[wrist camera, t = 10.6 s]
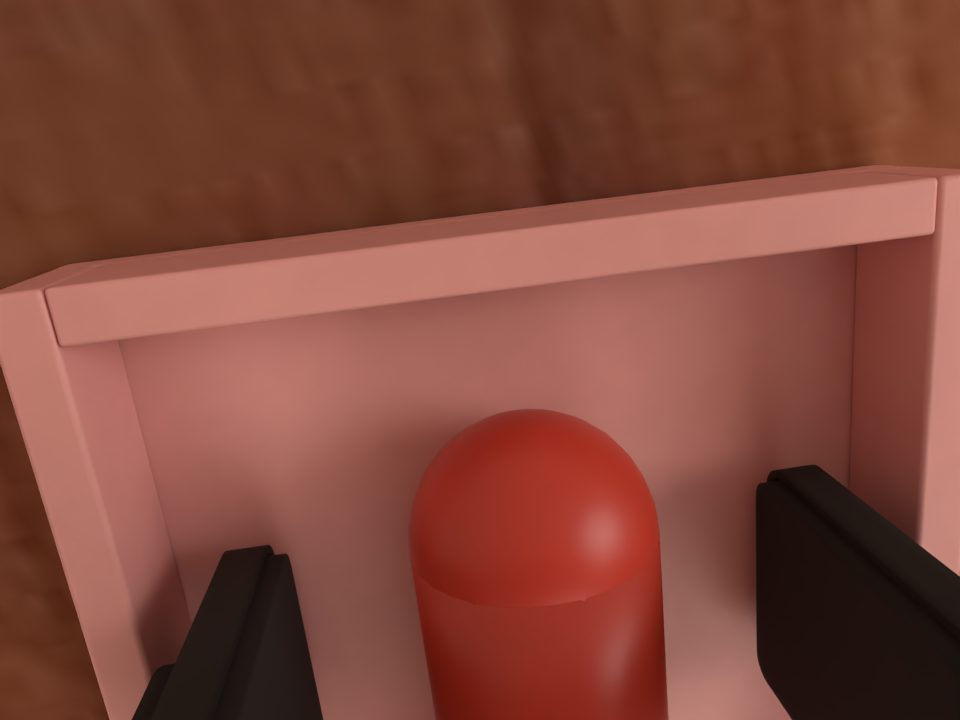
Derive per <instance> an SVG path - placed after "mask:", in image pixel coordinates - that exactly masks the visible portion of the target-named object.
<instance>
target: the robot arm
mask: <svg viewBox="0 0 960 720" xmlns="http://www.w3.org/2000/svg"><path fill="white" fill-rule="evenodd" d="M756 633H757V658H758V663H759V666H760V669H761V672H762V674H763V677H764V678H765V680H766V682H767V683H768V685H769V686H770V688H771V689H772V691H773V692H774V694H775V695H776V697H777V698H778V700H779V701H780V703H781V704H782V706H783V707H784V709H785V710H786V712H787V713H788V715H789V716H790V718H791V719H792V720H960V576H958V575H957V574H956V573H955V572H953V571H952V570H951V569H950V568H948V567H947V566H946V565H944V564H943V563H942V562H941V561H939V560H938V559H937V558H935V557H934V556H933V555H932V554H930V553H929V552H928V551H926V550H925V549H924V548H923V547H921V546H920V545H919V544H918V543H916V542H915V541H914V540H912V539H911V538H910V537H909V536H907V535H906V534H905V533H903V532H902V531H901V530H900V529H898V528H897V527H896V526H894V525H893V524H892V523H891V522H889V521H888V520H887V519H886V518H884V517H883V516H882V515H880V514H879V513H878V512H877V511H875V510H874V509H873V508H871V507H870V506H869V505H868V504H866V503H865V502H864V501H862V500H861V499H860V498H859V497H857V496H856V495H855V494H854V493H852V492H851V491H850V490H848V489H847V488H846V487H845V486H843V485H842V484H841V483H839V482H838V481H837V480H836V479H834V478H833V477H832V476H830V475H829V474H828V473H827V472H825V471H824V470H823V469H822V468H820V467H819V466H817V465H815V464H813V465H806V466H799V467H792V468H785V469H779V470H772V471H771V472H770V473H769V475H768V478H767V482H764V483H760V484H759V485H758V486H757V489H756ZM132 720H323V716H322V711H321V706H320V701H319V696H318V692H317V687H316V682H315V677H314V672H313V668H312V663H311V658H310V653H309V648H308V644H307V639H306V634H305V629H304V624H303V619H302V615H301V610H300V605H299V600H298V595H297V591H296V586H295V581H294V576H293V571H292V567H291V562H290V559H289V556H288V555H287V554H286V553H285V554H278V555H275V554H274V551H273V549H272V547H271V546H270V545H263V546H256V547H249V548H242V549H235V550H229V551H225V552H224V553H223V555H222V557H221V559H220V561H219V563H218V566H217V568H216V570H215V573H214V575H213V577H212V580H211V582H210V584H209V586H208V589H207V591H206V593H205V596H204V598H203V600H202V603H201V605H200V607H199V609H198V612H197V614H196V616H195V619H194V621H193V623H192V626H191V628H190V630H189V632H188V635H187V637H186V639H185V642H184V644H183V646H182V649H181V651H180V653H179V655H178V658H177V660H176V662H175V664H168V665H163V666H161V667H159V668H158V669H157V670H156V671H155V673H154V674H153V676H152V677H151V679H150V681H149V684H148V686H147V688H146V690H145V692H144V694H143V696H142V699H141V701H140V703H139V705H138V707H137V709H136V711H135V714H134V716H133V718H132Z"/></svg>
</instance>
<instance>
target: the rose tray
mask: <svg viewBox="0 0 960 720" xmlns="http://www.w3.org/2000/svg"><path fill="white" fill-rule="evenodd" d="M0 364H1V367H2V371H3V374H4V377H5V380H6V384H7V387H8V390H9V393H10V397H11V400H12V403H13V407H14V410H15V413H16V416H17V420H18V423H19V426H20V429H21V433H22V436H23V439H24V442H25V446H26V449H27V452H28V455H29V459H30V462H31V465H32V468H33V472H34V475H35V478H36V481H37V485H38V488H39V491H40V494H41V498H42V501H43V504H44V507H45V511H46V514H47V517H48V520H49V524H50V527H51V530H52V534H53V537H54V540H55V543H56V547H57V550H58V553H59V556H60V560H61V563H62V566H63V569H64V573H65V576H66V579H67V582H68V586H69V589H70V592H71V595H72V599H73V602H74V605H75V608H76V612H77V615H78V618H79V621H80V625H81V628H82V631H83V634H84V638H85V641H86V644H87V647H88V651H89V654H90V657H91V661H92V664H93V667H94V670H95V674H96V677H97V680H98V683H99V687H100V690H101V693H102V696H103V700H104V703H105V706H106V709H107V713H108V716H109V719H110V720H132V718H133V716H134V714H135V711H136V709H137V707H138V705H139V703H140V701H141V699H142V696H143V694H144V692H145V690H146V688H147V686H148V684H149V681H150V679H151V677H152V676H153V674H154V673H155V671H156V670H157V669H158V668H159V667H161V666H163V665H168V664H175V662H176V660H177V658H178V655H179V653H180V651H181V649H182V646H183V644H184V642H185V639H186V637H187V635H188V632H189V630H190V628H191V626H192V623H193V621H194V619H195V616H196V614H197V612H198V609H199V607H200V605H201V603H202V600H203V598H204V596H205V593H206V591H207V589H208V586H209V584H210V582H211V580H212V577H213V575H214V573H215V570H216V568H217V566H218V563H219V561H220V559H221V557H222V555H223V553H224V552H225V551H229V550H235V549H242V548H249V547H256V546H263V545H270V546H271V547H272V549H273V551H274V554H275V555H278V554H285V553H286V554H287V555H288V556H289V559H290V562H291V567H292V571H293V576H294V581H295V586H296V591H297V595H298V600H299V605H300V610H301V615H302V619H303V624H304V629H305V634H306V639H307V644H308V648H309V653H310V658H311V663H312V668H313V672H314V677H315V682H316V687H317V692H318V696H319V701H320V706H321V711H322V716H323V720H436V719H435V713H434V706H433V700H432V694H431V687H430V681H429V674H428V668H427V662H426V655H425V649H424V642H423V636H422V630H421V623H420V617H419V610H418V604H417V598H416V591H415V585H414V578H413V572H412V566H411V559H410V552H409V532H408V529H409V523H410V517H411V512H412V506H413V500H414V496H415V493H416V491H417V488H418V486H419V484H420V481H421V479H422V476H423V475H424V473H425V471H426V470H427V468H428V466H429V465H430V464H431V462H432V461H433V459H434V458H435V457H436V455H437V454H438V452H439V451H440V450H441V449H442V448H443V447H444V446H445V445H446V444H447V443H448V442H450V441H451V440H452V439H453V438H454V437H455V436H456V435H458V434H459V433H460V432H461V431H463V430H464V429H466V428H467V427H469V426H471V425H473V424H475V423H477V422H479V421H481V420H483V419H485V418H487V417H489V416H492V415H495V414H498V413H502V412H506V411H512V410H519V409H545V410H552V411H556V412H560V413H564V414H568V415H572V416H575V417H577V418H580V419H582V420H584V421H586V422H588V423H589V424H591V425H593V426H595V427H596V428H598V429H600V430H602V431H603V432H605V433H607V434H608V435H609V436H610V437H611V438H612V439H613V440H614V441H615V442H616V443H617V444H619V445H620V446H621V447H622V448H623V449H624V450H625V451H626V452H627V453H628V454H629V455H630V457H631V458H632V460H633V461H634V463H635V464H636V465H637V467H638V468H639V470H640V471H641V473H642V475H643V477H644V479H645V481H646V483H647V485H648V488H649V490H650V493H651V495H652V498H653V500H654V503H655V507H656V513H657V519H658V525H659V531H660V551H661V571H662V592H663V613H664V634H665V655H666V675H667V696H668V717H669V720H792V719H791V718H790V716H789V715H788V713H787V712H786V710H785V709H784V707H783V706H782V704H781V703H780V701H779V700H778V698H777V697H776V695H775V694H774V692H773V691H772V689H771V688H770V686H769V685H768V683H767V682H766V680H765V678H764V677H763V674H762V672H761V669H760V666H759V663H758V658H757V633H756V489H757V486H758V485H759V484H760V483H764V482H767V478H768V475H769V473H770V472H771V471H772V470H779V469H785V468H792V467H799V466H806V465H813V464H815V465H817V466H819V467H820V468H822V469H823V470H824V471H825V472H827V473H828V474H829V475H830V476H832V477H833V478H834V479H836V480H837V481H838V482H839V483H841V484H842V485H843V486H845V487H846V488H847V489H848V490H850V491H851V492H852V493H854V494H855V495H856V496H857V497H859V498H860V499H861V500H862V501H864V502H865V503H866V504H868V505H869V506H870V507H871V508H873V509H874V510H875V511H877V512H878V513H879V514H880V515H882V516H883V517H884V518H886V519H887V520H888V521H889V522H891V523H892V524H893V525H894V526H896V527H897V528H898V529H900V530H901V531H902V532H903V533H905V534H906V535H907V536H909V537H910V538H911V539H912V540H914V541H915V542H916V543H918V544H919V545H920V546H921V547H923V548H924V549H925V550H926V551H928V552H929V553H930V554H932V555H933V556H934V557H935V558H937V559H938V560H939V561H941V562H942V563H943V564H944V565H946V566H947V567H948V568H950V569H951V570H952V571H953V572H955V573H956V574H957V575H958V576H959V572H960V169H948V168H928V167H909V166H899V167H898V166H893V165H871V166H863V167H855V168H847V169H838V170H830V171H822V172H814V173H806V174H798V175H790V176H782V177H773V178H765V179H757V180H749V181H741V182H733V183H725V184H717V185H708V186H700V187H692V188H684V189H676V190H668V191H660V192H651V193H643V194H635V195H627V196H619V197H611V198H603V199H595V200H586V201H578V202H570V203H562V204H554V205H546V206H538V207H529V208H521V209H513V210H505V211H497V212H489V213H481V214H473V215H464V216H456V217H448V218H440V219H432V220H424V221H416V222H407V223H399V224H391V225H383V226H375V227H367V228H359V229H351V230H342V231H334V232H326V233H318V234H310V235H302V236H294V237H285V238H277V239H269V240H261V241H253V242H245V243H237V244H229V245H220V246H212V247H204V248H196V249H188V250H180V251H172V252H163V253H155V254H147V255H139V256H131V257H123V258H115V259H107V260H98V261H90V262H82V263H74V264H68V265H65V266H62V267H60V268H57V269H55V270H53V271H50V272H47V273H44V274H42V275H39V276H36V277H34V278H31V279H28V280H25V281H23V282H20V283H17V284H15V285H12V286H9V287H7V288H4V289H1V290H0Z"/></svg>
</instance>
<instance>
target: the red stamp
mask: <svg viewBox="0 0 960 720" xmlns="http://www.w3.org/2000/svg"><path fill="white" fill-rule="evenodd" d="M408 532H409V552H410V559H411V566H412V572H413V578H414V585H415V591H416V598H417V604H418V610H419V617H420V623H421V630H422V636H423V642H424V649H425V655H426V662H427V668H428V674H429V681H430V687H431V694H432V700H433V706H434V713H435V719H436V720H669V717H668V696H667V675H666V655H665V634H664V613H663V592H662V571H661V551H660V531H659V525H658V519H657V513H656V507H655V503H654V500H653V498H652V495H651V493H650V490H649V488H648V485H647V483H646V481H645V479H644V477H643V475H642V473H641V471H640V470H639V468H638V467H637V465H636V464H635V463H634V461H633V460H632V458H631V457H630V455H629V454H628V453H627V452H626V451H625V450H624V449H623V448H622V447H621V446H620V445H619V444H617V443H616V442H615V441H614V440H613V439H612V438H611V437H610V436H609V435H608V434H607V433H605V432H603V431H602V430H600V429H598V428H596V427H595V426H593V425H591V424H589V423H588V422H586V421H584V420H582V419H580V418H577V417H575V416H572V415H568V414H564V413H560V412H556V411H552V410H545V409H519V410H512V411H506V412H502V413H498V414H495V415H492V416H489V417H487V418H485V419H483V420H481V421H479V422H477V423H475V424H473V425H471V426H469V427H467V428H466V429H464V430H463V431H461V432H460V433H459V434H458V435H456V436H455V437H454V438H453V439H452V440H451V441H450V442H448V443H447V444H446V445H445V446H444V447H443V448H442V449H441V450H440V451H439V452H438V454H437V455H436V457H435V458H434V459H433V461H432V462H431V464H430V465H429V466H428V468H427V470H426V471H425V473H424V475H423V476H422V479H421V481H420V484H419V486H418V488H417V491H416V493H415V496H414V500H413V506H412V512H411V517H410V523H409V529H408Z"/></svg>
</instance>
